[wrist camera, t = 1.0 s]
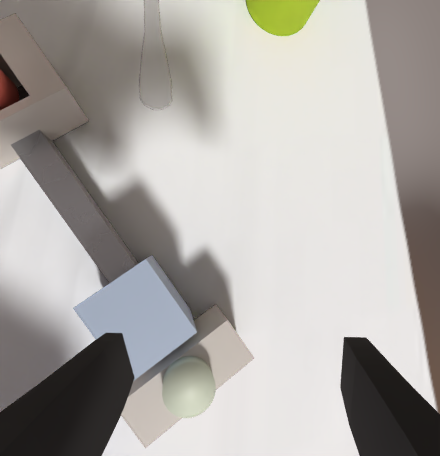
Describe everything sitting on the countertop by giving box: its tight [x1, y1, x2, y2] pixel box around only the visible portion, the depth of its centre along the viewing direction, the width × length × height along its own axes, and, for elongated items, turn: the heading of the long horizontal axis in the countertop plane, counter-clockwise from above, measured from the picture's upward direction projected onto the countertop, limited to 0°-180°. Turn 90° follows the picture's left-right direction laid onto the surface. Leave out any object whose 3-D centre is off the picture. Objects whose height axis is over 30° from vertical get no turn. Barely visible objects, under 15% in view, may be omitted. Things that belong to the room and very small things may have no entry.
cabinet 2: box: [121, 304, 254, 448], centre depth 18 cm, size 8×3×6 cm, turn 125°
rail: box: [11, 130, 139, 283], centre depth 19 cm, size 2×17×2 cm, turn 34°
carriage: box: [73, 255, 197, 380], centre depth 17 cm, size 4×5×6 cm
